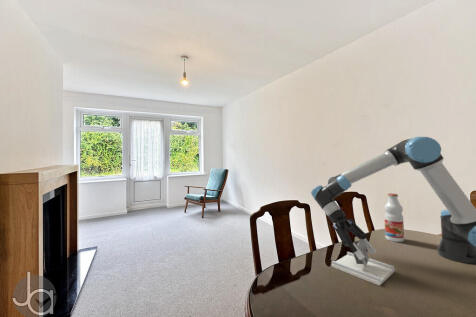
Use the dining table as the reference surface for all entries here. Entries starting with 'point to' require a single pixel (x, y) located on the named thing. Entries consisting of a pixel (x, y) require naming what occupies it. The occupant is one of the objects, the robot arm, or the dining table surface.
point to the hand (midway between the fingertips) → (368, 255)
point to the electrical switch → (363, 249)
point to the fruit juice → (394, 219)
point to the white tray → (364, 269)
